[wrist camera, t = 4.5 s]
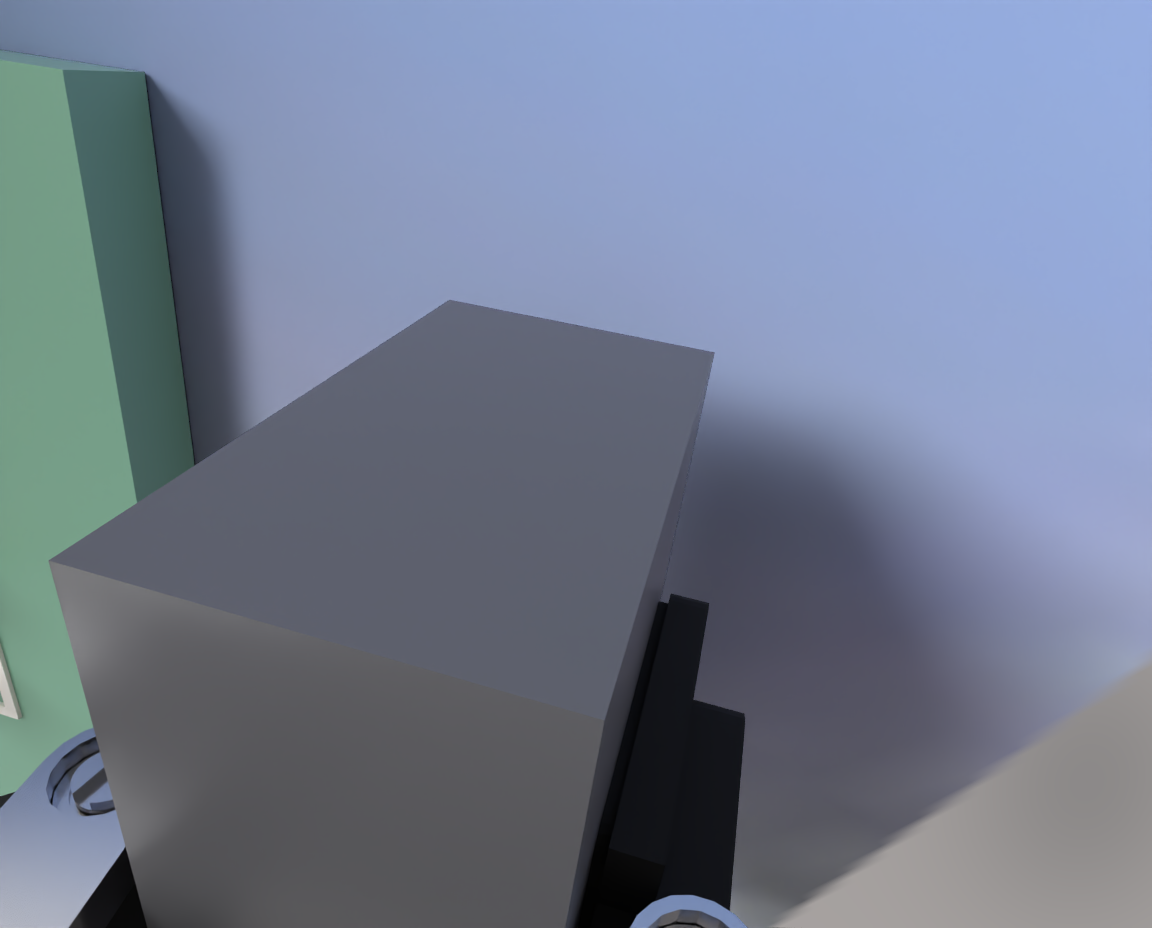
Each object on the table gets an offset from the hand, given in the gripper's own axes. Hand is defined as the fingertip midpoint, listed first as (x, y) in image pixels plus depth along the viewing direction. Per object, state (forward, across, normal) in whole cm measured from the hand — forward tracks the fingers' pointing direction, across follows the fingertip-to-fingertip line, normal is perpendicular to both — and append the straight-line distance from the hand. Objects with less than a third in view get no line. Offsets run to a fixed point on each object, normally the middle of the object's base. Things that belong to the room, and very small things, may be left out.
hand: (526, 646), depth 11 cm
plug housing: (+1, 0, 0) cm, 1 cm away
